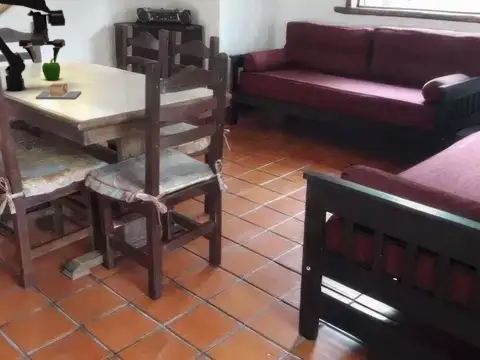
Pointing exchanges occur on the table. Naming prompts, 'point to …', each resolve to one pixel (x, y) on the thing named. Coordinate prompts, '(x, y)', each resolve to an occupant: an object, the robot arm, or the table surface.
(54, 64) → the bell pepper
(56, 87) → the copper block with band
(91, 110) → the table surface
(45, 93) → the mat
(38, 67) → the table surface
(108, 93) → the table surface
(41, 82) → the table surface
